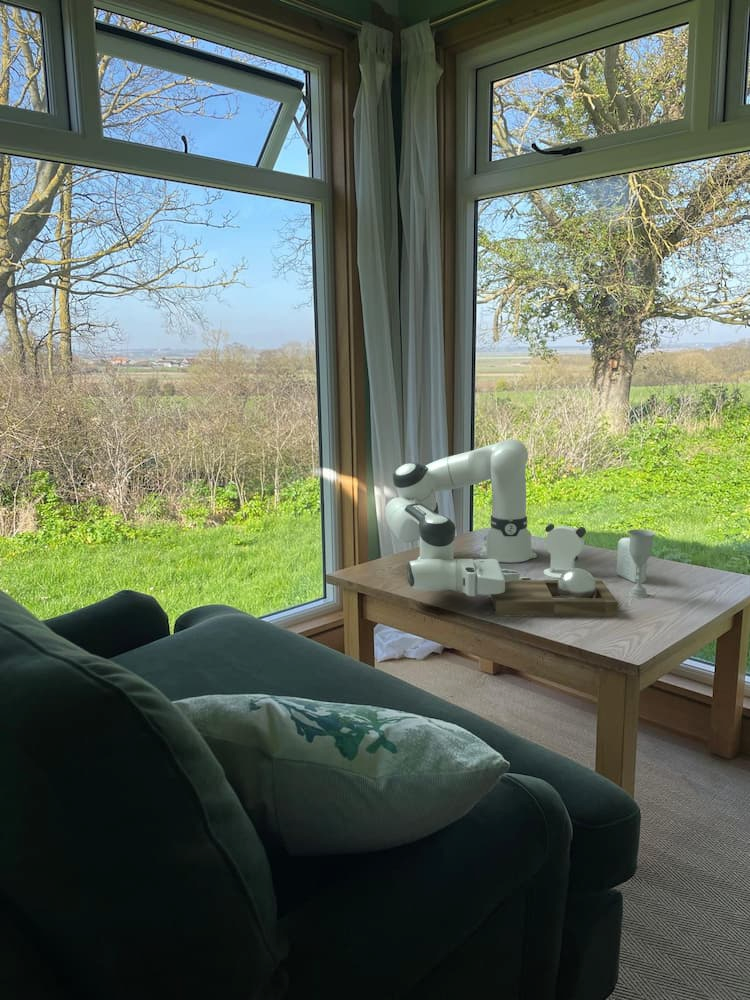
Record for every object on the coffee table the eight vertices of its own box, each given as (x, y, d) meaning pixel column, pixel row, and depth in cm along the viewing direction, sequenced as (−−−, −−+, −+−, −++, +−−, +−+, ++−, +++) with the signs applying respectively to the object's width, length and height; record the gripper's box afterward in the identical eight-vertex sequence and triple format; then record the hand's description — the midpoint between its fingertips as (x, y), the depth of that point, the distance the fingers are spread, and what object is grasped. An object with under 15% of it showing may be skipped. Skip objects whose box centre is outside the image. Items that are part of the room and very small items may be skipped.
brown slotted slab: (490, 593, 205) (490, 579, 204) (600, 593, 202) (601, 580, 201) (495, 615, 187) (496, 601, 186) (617, 616, 185) (617, 601, 184)
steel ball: (594, 569, 198) (583, 603, 199) (560, 560, 197) (549, 594, 199) (605, 578, 188) (594, 613, 189) (569, 568, 187) (557, 604, 189)
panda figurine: (586, 570, 223) (588, 524, 220) (579, 581, 214) (581, 532, 211) (548, 566, 229) (549, 520, 226) (539, 576, 219) (540, 528, 216)
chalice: (619, 592, 203) (622, 530, 199) (638, 589, 205) (642, 528, 201) (637, 600, 196) (640, 536, 192) (657, 597, 198) (660, 534, 195)
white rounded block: (648, 582, 211) (650, 542, 208) (635, 584, 209) (637, 543, 207) (626, 573, 220) (628, 534, 218) (614, 574, 219) (615, 535, 217)
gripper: (464, 574, 204) (513, 574, 203) (469, 598, 184) (523, 599, 183) (465, 553, 203) (514, 553, 202) (469, 575, 183) (524, 575, 182)
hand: (518, 575), depth 193 cm, fingers closed
